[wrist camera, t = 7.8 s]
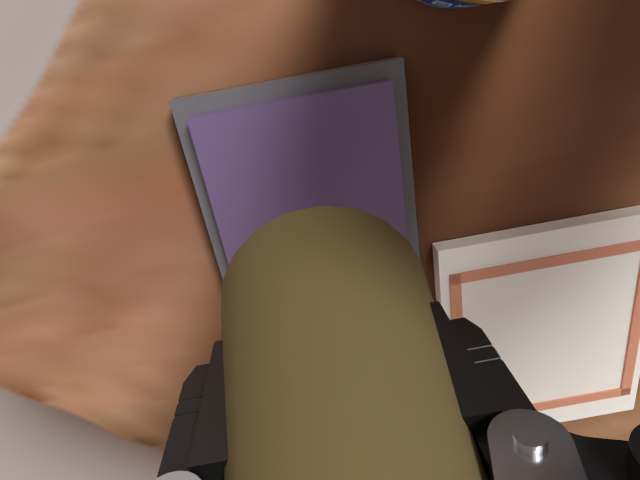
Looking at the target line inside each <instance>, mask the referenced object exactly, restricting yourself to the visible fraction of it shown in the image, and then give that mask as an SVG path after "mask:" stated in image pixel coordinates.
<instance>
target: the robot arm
mask: <svg viewBox="0 0 640 480" xmlns="http://www.w3.org/2000/svg"><path fill="white" fill-rule="evenodd" d="M430 306H431V310H432V313H433V317H434V320H435V324H436V327H437V331H438V334H439V338H440V342H441V345H442V349H443V352H444V356H445V359H446V363H447V366H448V370H449V373H450V377H451V380H452V384H453V387H454V391H455V394H456V398H457V401H458V405H459V408H460V412H461V415H462V418H463V420H464V422H465V423H466V425H467V427H468V428H469V430H470V432H471V433H472V435H473V437H474V440H475V442H476V445H477V448H478V451H479V453H480V456H481V459H482V462H483V464H484V467H485V470H486V473H487V476H488V479H489V480H640V425H638V426H637V427H635V428H634V429H633V431H632V432H631V435H630V437H629V441H623V440H612V439H602V438H591V437H585V436H580V435H576V434H573V433H570V432H568V431H567V429H566V428H565V427H564V426H563V425H562V424H560V423H559V422H558V421H557V420H555V419H553V418H552V417H550V416H548V415H546V414H544V413H541V412H538V411H537V410H536V409H535V407H534V406H533V404H532V403H531V401H530V400H529V398H528V397H527V395H526V394H525V392H524V391H523V390H522V388H521V387H520V385H519V384H518V382H517V381H516V379H515V378H514V376H513V375H512V373H511V372H510V370H509V369H508V367H507V366H506V364H505V363H504V361H503V360H501V358H500V355H499V354H498V352H497V351H496V349H495V348H494V347H492V343H491V342H490V340H489V339H488V337H487V336H486V334H485V333H484V331H483V330H482V328H480V327H478V326H477V325H475V324H474V323H472V322H471V321H469V320H468V319H466V318H465V317H463V318H457V319H452V320H450V319H449V318H448V316H447V314H446V312H445V311H444V309H443V307H442V305H441V304H440V302H439V301H434V302H430ZM227 461H228V445H227V425H226V405H225V384H224V364H223V340H220V341H216V342H215V343H214V346H213V351H212V356H211V360H210V364H204V365H199V366H196V367H195V369H194V370H193V371H192V372H191V374H190V375H189V376H188V378H187V379H186V380H185V382H184V383H183V387H182V390H181V394H180V398H179V404H178V405H177V408H176V412H175V419H173V422H172V426H171V429H170V433H169V437H168V440H167V444H166V447H165V451H164V454H163V458H162V461H161V465H160V468H159V472H158V476H157V478H156V479H154V480H224V467H225V465H226V463H227Z"/></svg>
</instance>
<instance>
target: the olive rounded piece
mask: <svg viewBox="0 0 640 480" xmlns="http://www.w3.org/2000/svg"><path fill="white" fill-rule="evenodd" d="M430 302H434V301H433V298H432V295H431V291H430V288H429V285H428V282H427V278H426V275H425V272H424V269H423V266H422V264H421V262H420V260H419V258H418V257H417V255H416V253H415V251H414V249H413V247H412V245H411V244H410V242H409V240H407V239H406V238H405V237H404V236H403V235H402V234H401V233H399V232H398V231H397V230H396V229H395V228H394V227H392V226H391V225H390V224H389V223H388V222H387V221H385V220H383V219H380V218H378V217H375V216H373V215H371V214H368V213H366V212H363V211H361V210H358V209H356V208H346V207H333V206H316V207H311V208H307V209H302V210H298V211H293V212H289V213H285V214H283V215H281V216H280V217H278V218H276V219H274V220H273V221H271V222H269V223H267V224H266V225H264V226H262V227H260V228H259V229H257V230H255V231H254V232H253V233H252V235H251V236H250V237H249V238H248V239H247V240H246V241H245V242H244V243H243V244H242V246H241V247H240V248H239V249H238V250H237V251H236V252H235V253H234V254H233V257H232V259H231V262H230V264H229V267H228V269H227V271H226V274H225V276H224V279H223V281H222V308H221V314H222V340H223V364H224V384H225V405H226V425H227V445H228V461H227V463H226V465H225V467H224V480H489V479H488V476H487V473H486V470H485V467H484V464H483V462H482V459H481V456H480V453H479V451H478V448H477V445H476V442H475V440H474V437H473V435H472V433H471V432H470V430H469V428H468V427H467V425H466V423H465V422H464V420H463V418H462V415H461V412H460V408H459V405H458V401H457V398H456V394H455V391H454V387H453V384H452V380H451V377H450V373H449V370H448V366H447V363H446V359H445V356H444V352H443V349H442V345H441V342H440V338H439V334H438V331H437V327H436V324H435V320H434V317H433V313H432V310H431V306H430Z"/></svg>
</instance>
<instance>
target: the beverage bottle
mask: <svg viewBox="0 0 640 480" xmlns="http://www.w3.org/2000/svg"><path fill="white" fill-rule="evenodd" d="M417 1H419V2H422V3H424V4H427V5H430V6H434V7H439V8H447V9H460V8H469V7H475V6H480V5H484V4H490V3H497V2H505V1H514V0H417Z"/></svg>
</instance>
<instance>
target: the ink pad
mask: <svg viewBox="0 0 640 480" xmlns="http://www.w3.org/2000/svg"><path fill="white" fill-rule="evenodd" d="M169 104H170V108H171V111H172V114H173V118H174V121H175V124H176V127H177V131H178V134H179V137H180V141H181V144H182V147H183V151H184V154H185V157H186V160H187V164H188V167H189V170H190V174H191V177H192V180H193V184H194V187H195V190H196V194H197V197H198V200H199V203H200V207H201V210H202V213H203V217H204V220H205V223H206V227H207V230H208V233H209V236H210V240H211V243H212V246H213V250H214V253H215V256H216V260H217V263H218V266H219V270H220V273H221V276H222V279H224V276H225V274H226V271H227V269H228V267H229V264H230V262H231V259H232V257H233V254H234V253H235V252H236V251H237V250H238V249H239V248H240V247H241V246H242V244H243V243H244V242H245V241H246V240H247V239H248V238H249V237H250V236H251V235H252V233H253V232H254V231H255V230H257V229H259V228H260V227H262V226H264V225H266V224H267V223H269V222H271V221H273V220H274V219H276V218H278V217H280V216H281V215H283V214H285V213H289V212H293V211H298V210H302V209H307V208H311V207H316V206H333V207H346V208H356V209H358V210H361V211H363V212H366V213H368V214H371V215H373V216H375V217H378V218H380V219H383V220H385V221H387V222H388V223H389V224H390V225H391V226H392V227H394V228H395V229H396V230H397V231H398V232H399V233H401V234H402V235H403V236H404V237H405V238H406V239H407V240H409V242H410V244H411V245H412V247H413V249H414V251H415V253H416V255H417V257H418V258H419V260H420V252H419V240H418V227H417V215H416V203H415V190H414V178H413V165H412V153H411V141H410V128H409V116H408V104H407V91H406V79H405V67H404V58H402V57H392V58H386V59H381V60H376V61H370V62H365V63H359V64H354V65H349V66H343V67H338V68H333V69H327V70H322V71H316V72H311V73H306V74H300V75H295V76H289V77H284V78H279V79H273V80H268V81H262V82H257V83H252V84H246V85H241V86H235V87H230V88H225V89H219V90H214V91H209V92H203V93H198V94H192V95H187V96H182V97H176V98H174V99H172V100H170V101H169Z"/></svg>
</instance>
